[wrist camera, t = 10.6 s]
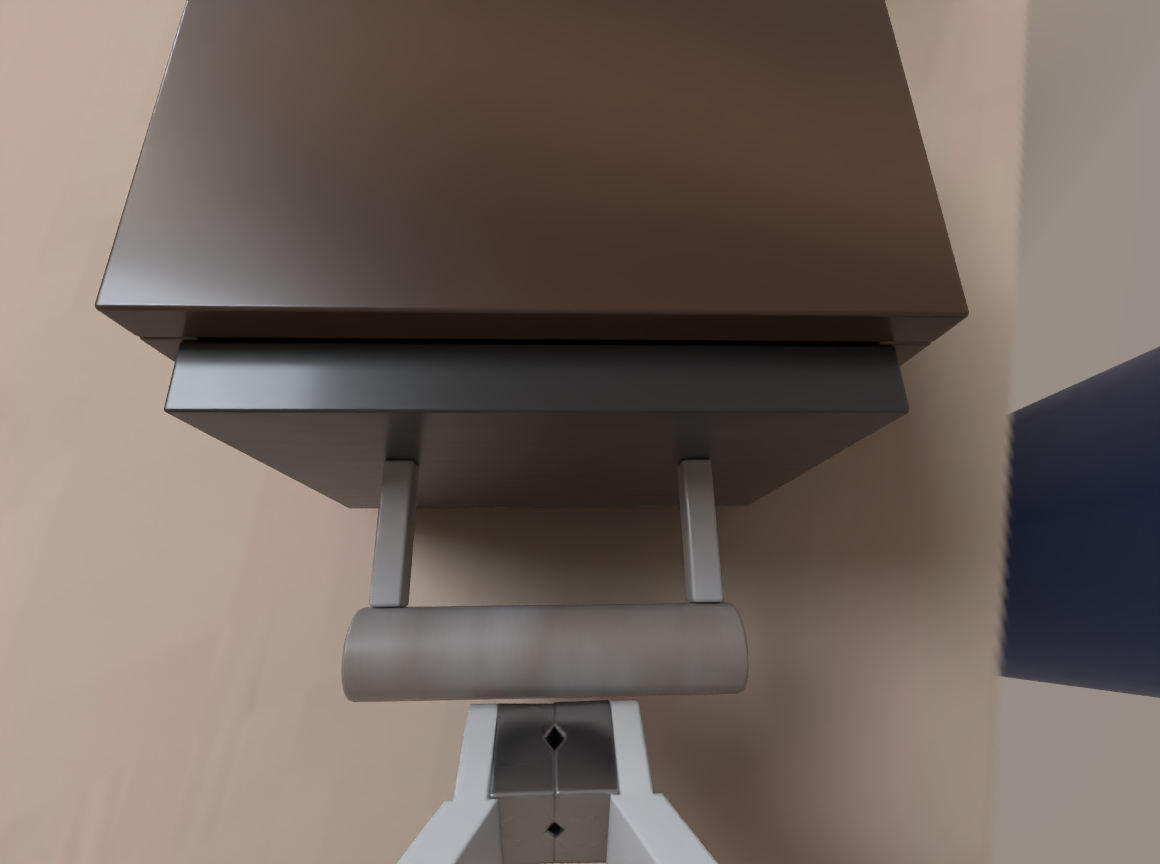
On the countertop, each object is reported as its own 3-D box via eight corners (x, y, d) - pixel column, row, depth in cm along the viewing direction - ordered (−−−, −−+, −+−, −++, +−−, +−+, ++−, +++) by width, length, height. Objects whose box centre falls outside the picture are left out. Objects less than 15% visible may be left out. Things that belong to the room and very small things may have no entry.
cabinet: (752, 474, 18) (972, 315, 8) (344, 476, 17) (90, 308, 8) (711, 117, 22) (821, -239, 13) (389, 110, 22) (265, -268, 12)
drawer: (766, 667, 15) (977, 719, 7) (328, 676, 14) (81, 740, 7) (708, 144, 21) (794, -125, 13) (392, 138, 20) (295, -146, 13)
